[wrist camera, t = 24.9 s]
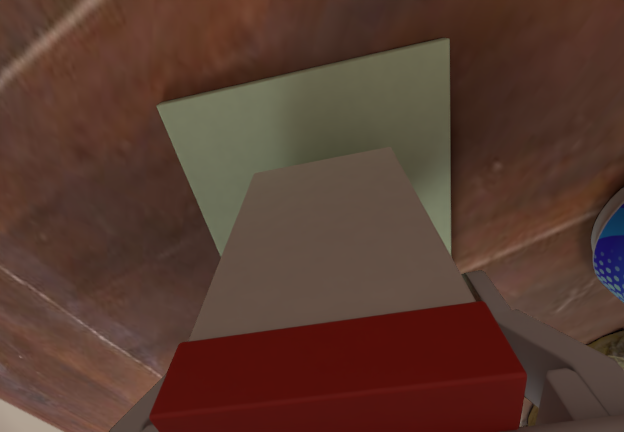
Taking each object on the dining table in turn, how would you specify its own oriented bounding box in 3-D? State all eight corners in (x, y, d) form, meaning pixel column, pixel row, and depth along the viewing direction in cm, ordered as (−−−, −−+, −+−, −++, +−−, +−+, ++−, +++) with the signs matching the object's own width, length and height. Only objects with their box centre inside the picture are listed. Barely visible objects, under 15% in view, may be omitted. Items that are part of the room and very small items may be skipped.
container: (252, 552, 8) (145, 418, 5) (285, 278, 17) (250, 170, 14) (503, 536, 8) (529, 374, 5) (404, 259, 16) (393, 142, 13)
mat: (245, 303, 21) (243, 311, 20) (160, 102, 15) (155, 105, 14) (447, 269, 20) (452, 276, 19) (444, 37, 14) (450, 38, 13)
